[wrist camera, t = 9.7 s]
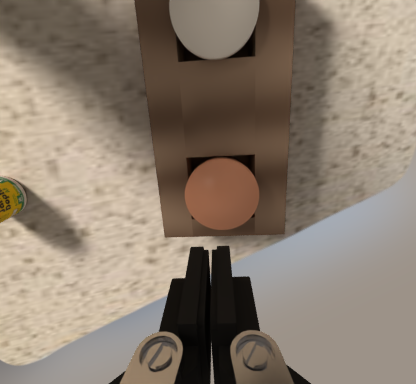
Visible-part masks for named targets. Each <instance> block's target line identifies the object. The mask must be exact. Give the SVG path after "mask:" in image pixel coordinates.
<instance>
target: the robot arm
mask: <svg viewBox="0 0 416 384" xmlns="http://www.w3.org/2000/svg"><path fill="white" fill-rule="evenodd" d="M211 343H212V356H213V370H214V384H311V383H309V382H308V381H307V380H306V379H304V378H303V377H302V376H300V375H299V374H298V373H297V372H295V371H294V370H293V369H291V368H290V367H289V366H287V365H286V363H285V361H284V359H283V356H282V354H281V352H280V350H279V347H278V345H277V344H276V342H275V341H274V340H273V339H272V338H271V337H270V336H269V335H267V334H265V333H263V332H260V329H259V323H258V318H257V312H256V307H255V302H254V297H253V292H252V286H251V281H250V277H232V270H231V259H230V248H229V246H217V250H212V272H211V282H210V266H209V252H208V250H204V247H191V248H190V254H189V260H188V266H187V271H186V277H185V278H176V279H172V281H171V285H170V289H169V293H168V297H167V301H166V305H165V309H164V313H163V317H162V321H161V325H160V330H159V332H157V333H154V334H152V335H150V336H148V337H146V338H145V339H144V340H143V341H142V342H141V343H140V344H139V346H138V348H137V349H136V351H135V353H134V355H133V357H132V359H131V362H130V363H129V365H128V368H127V369H126V371H125V372H123V373H122V374H121V375H120V376H118V377H117V378H116V379H114V380H113V381H112V382H111V383H109V384H210V375H211V373H210V372H211Z"/></svg>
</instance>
